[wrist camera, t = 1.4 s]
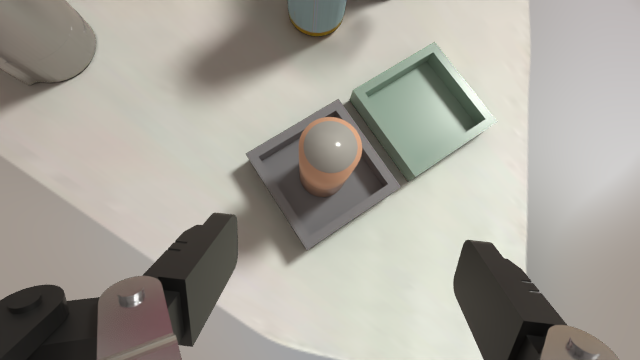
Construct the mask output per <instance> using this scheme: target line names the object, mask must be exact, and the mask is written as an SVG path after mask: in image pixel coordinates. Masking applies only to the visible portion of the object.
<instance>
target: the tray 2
mask: <svg viewBox="0 0 640 360" xmlns="http://www.w3.org/2000/svg"><path fill="white" fill-rule="evenodd" d="M350 102H351V103H352V104H353V106H354V107H355V108H356V110H357V111H358V113H359V114H360V115H361V117H362V118H363V120H364V121H365V122H366V124H367V125H368V127H369V128H370V129H371V131H372V132H373V134H374V135H375V136H376V138H377V139H378V141H379V142H380V143H381V145H382V146H383V148H384V149H385V150H386V152H387V153H388V155H389V156H390V157H391V159H392V160H393V162H394V163H395V164H396V166H397V167H398V168H399V170H400V171H401V173H402V174H403V175H404V177H405V178H406V180H407V181H410V180H411V179H413V178H415V177H416V176H418V175H419V174H421V173H422V172H424V171H425V170H427V169H428V168H430V167H431V166H433V165H434V164H436V163H437V162H439V161H440V160H442V159H443V158H445V157H446V156H447V155H449V154H450V153H452V152H453V151H455V150H456V149H458V148H459V147H461V146H462V145H464V144H465V143H467V142H468V141H470V140H471V139H473V138H474V137H476V136H477V135H479V134H480V133H482V132H483V131H485V130H486V129H488V128H489V127H490V126H492V125H493V124H495V123H496V122H498V121H497V120H496V119H495V118H494V116H493V115H492V114H491V112H490V111H489V110H488V109H487V107H486V106H485V105H484V104H483V102H482V101H481V100H480V99H479V97H478V96H477V95H476V94H475V92H474V91H473V90H472V88H471V87H470V86H469V85H468V83H467V82H466V81H465V80H464V78H463V77H462V76H461V75H460V73H459V72H458V71H457V70H456V68H455V67H454V66H453V64H452V63H451V62H450V61H449V59H448V58H447V57H446V56H445V54H444V53H443V52H442V51H441V49H440V48H439V47H438V46H437V44H436V43H435V42H434V43H432V44H430V45H428V46H427V47H425V48H423V49H422V50H420V51H418V52H417V53H415V54H413V55H412V56H410V57H408V58H407V59H405V60H403V61H401V62H400V63H398V64H396V65H395V66H393V67H391V68H390V69H388V70H386V71H385V72H383V73H381V74H379V75H378V76H376V77H374V78H373V79H371V80H369V81H368V82H366V83H364V84H363V85H361V86H359V87H358V88H356V89H354V90H353V92H352V95H351V98H350Z"/></svg>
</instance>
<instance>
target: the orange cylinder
mask: <svg viewBox="0 0 640 360" xmlns="http://www.w3.org/2000/svg"><path fill="white" fill-rule="evenodd" d="M361 155H362V142H361V138H360V136H359V134H358V132H357V131H356V129H355V128H354V127H353V126H352V125H351V124H349V123H348V122H346V121H345V120H342V119H340V118H335V117H324V118H320V119H317V120H315V121H313V122H312V123H310V124H309V125H308V126H307V127H306V128H305V129H304V131H303V132H302V134H301V136H300V140H299V177H300V182H301V184H302V186H303V187H304V189H305V190H306V191H307V192H309V193H310V194H312V195H314V196H317V197H328V196H331V195H333V194H335V193H337V192H338V191H339V190H340V189H341V187H342V186H343V185H344V183H345V182H346V180H347V179H348V177H349V176H350V174H351V173H352V171H353V170H354V169H355V167H356V166H357V164H358V162H359V161H360V158H361Z"/></svg>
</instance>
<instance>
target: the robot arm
mask: <svg viewBox="0 0 640 360" xmlns="http://www.w3.org/2000/svg"><path fill="white" fill-rule="evenodd" d="M95 50H96V38H95V34H94V32H93V30H92V28H91V27H90V26H89V24H88V23H87V22H86V21H85V20H84V19H83V18H82V17H81V16H80V14H79V13H78V12H77V11H76V10H75V9H74V8H72V7H71V6H70V5H69V4H68V2H67V1H66V0H0V69H1V70H3V71H5V72H6V73H8V74H10V75H12V76H13V77H15V78H17V79H18V80H20V81H22V82H23V83H25V84H27V85H32V84H34V83H36V82H49V83H52V82H60V81H64V80H67V79H69V78H72V77H74V76H76V75H77V74H78V73H80V72H81V71H83V70H84V69H85V68H86V67H87V65H88V64H89V63H90V61H91V60H92V58H93V56H94V53H95ZM237 258H238V235H237V218H236V216H235V215H232V214H222V213H213V214H212V215H211V216H210V217H209V218H208V219H207V221H206V222H205V223H204V224H203V225H196V226H194V227H192V228H190V229H188V230H186V231H184V232H183V233H182V234H181V235H180V236H179V238H178V239H177V240H176V241H175V243H173V244H172V245H171V246H170V247H169V248H168V250H166V251H165V252H164V253H163V254H162V256H161V257H160V258H159V259H158V260H157V261H156V262H155V263H154V264H153V265H152V266H151V267H150V268H149V269H148V270H147V271H146V272H145V273H144V275H143V276H136V277H131V278H127V279H124V280H122V281H119V282H117V283H115V284H113V285H112V286H110V287H109V288H108V289H107V290H105V291H104V292H103V294H102V295H101V296H100V297H98V298H90V299H81V300H72V301H66V297H65V294H64V291H63V289H61V288H60V287H58V286H55V285H39V286H34V287H30V288H26V289H23V290H21V291H18V292H15V293H13V294H11V295H9V296H7V297H5V298H4V299H2V300H0V360H182V358H181V354H180V350H179V346H178V345H183V346H193V345H194V343H195V341H196V339H197V338H198V336H199V334H200V332H201V330H202V328H203V327H204V325H205V323H206V321H207V319H208V317H209V315H210V314H211V312H212V310H213V308H214V306H215V304H216V302H217V301H218V299H219V297H220V295H221V293H222V291H223V290H224V288H225V286H226V284H227V282H228V280H229V278H230V277H231V275H232V273H233V271H234V269H235V266H236V263H237ZM453 286H454V293H455V296H456V299H457V301H458V303H459V305H460V307H461V310H462V312H463V314H464V316H465V319H466V321H467V323H468V325H469V328H470V330H471V332H472V334H473V337H474V339H475V341H476V343H477V345H478V348H479V350H480V352H481V354H482V357H483V359H484V360H619V358H618V357H617V356H616V354H615V353H614V352H613V351H612V350H611V349H610V348H609V347H608V346H607V345H605V344H604V343H603V342H602V341H600V340H599V339H597V338H596V337H594V336H592V335H590V334H589V333H587V332H585V331H582V330H580V329H577V328H574V327H571V326H568V325H567V324H566V323H565V322H564V321H563V319H562V318H561V317H560V316H559V314H558V313H557V312H556V311H555V310H554V308H553V307H552V306H551V305H550V303H549V302H548V301H547V300H546V298H545V297H544V296H543V295H542V294H541V293H539V290H538V289H537V287H536V286H535V285H534V284H533V283H531V280H530V279H529V278H528V276H527V275H526V274H525V273H524V272H523V270H522V269H521V268H519V267H518V266H516V265H515V264H514V263H512V262H511V261H510V260H508V259H504V258H503V257H502V255H501V254H500V253H499V251H498V250H497V249H496V248H495V246H494V245H493V244H492V243H490V242H482V241H473V240H466V241H465V243H464V244H463V247H462V251H461V254H460V258H459V261H458V265H457V268H456V272H455V275H454V282H453Z"/></svg>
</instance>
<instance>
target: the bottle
mask: <svg viewBox="0 0 640 360" xmlns="http://www.w3.org/2000/svg"><path fill="white" fill-rule="evenodd" d="M346 1H347V0H288V11H289V17H290V20H291V22H292V23H293V25H294V26H295V27H296V28H297V29H298V30H300V31H301V32H303V33H305V34H308V35H311V36H323V35H327V34H330V33H331V32H333V31H335V30H336V29H337V28H338V27H339V26H340V24H341V22H342V20H343V16H344V12H345V6H346Z"/></svg>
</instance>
